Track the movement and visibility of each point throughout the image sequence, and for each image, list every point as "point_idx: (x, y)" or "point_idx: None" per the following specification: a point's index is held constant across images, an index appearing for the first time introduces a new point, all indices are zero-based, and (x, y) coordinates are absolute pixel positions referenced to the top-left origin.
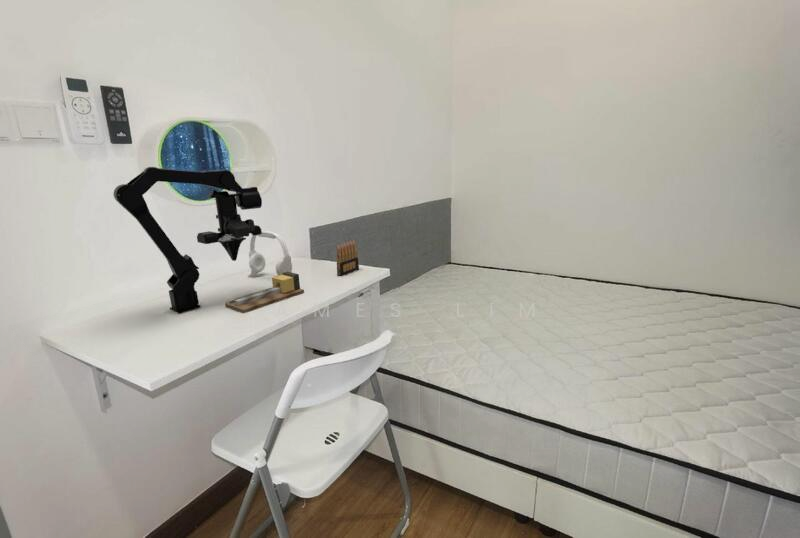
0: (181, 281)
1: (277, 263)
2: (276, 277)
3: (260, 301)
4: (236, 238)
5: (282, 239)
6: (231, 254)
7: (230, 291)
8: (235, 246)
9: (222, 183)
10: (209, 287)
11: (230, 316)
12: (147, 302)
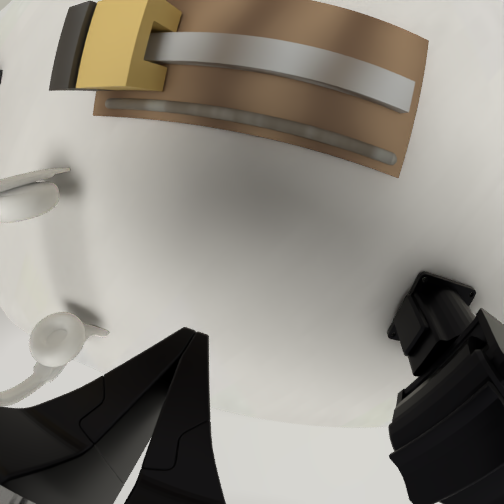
0: None
1: (18, 212)
2: (117, 63)
3: (315, 28)
4: (29, 501)
5: None
6: (208, 390)
7: (228, 299)
8: (108, 434)
9: None
10: (229, 382)
11: (462, 78)
12: (382, 420)
